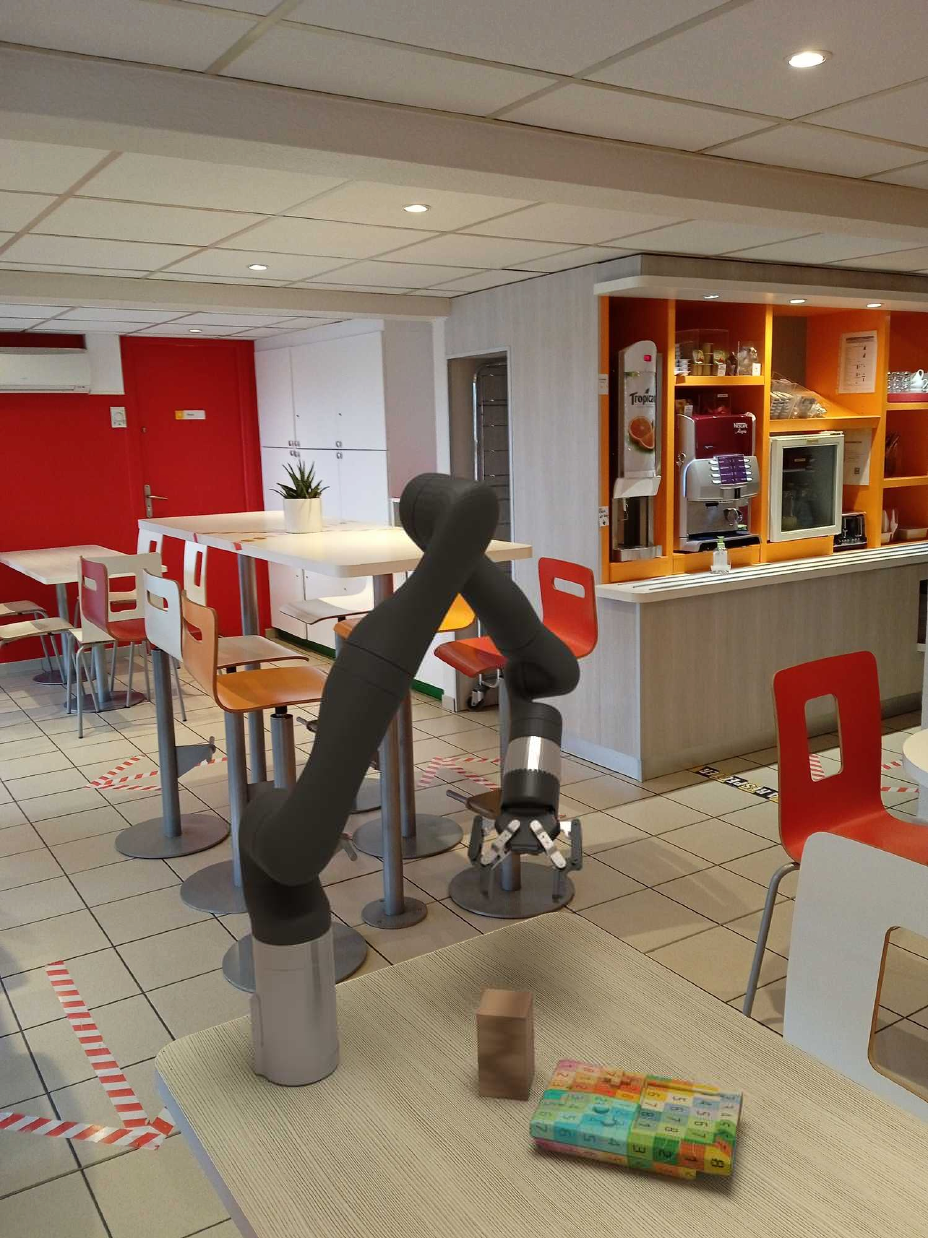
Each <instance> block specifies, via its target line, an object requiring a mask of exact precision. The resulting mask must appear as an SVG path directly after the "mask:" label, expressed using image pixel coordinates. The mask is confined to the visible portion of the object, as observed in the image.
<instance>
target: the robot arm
mask: <svg viewBox="0 0 928 1238" xmlns="http://www.w3.org/2000/svg"><path fill="white" fill-rule="evenodd" d="M500 506H501V505H500V501H499V497H498V494H497V492H496V490H495V489H494V488H493V487H491V486H490V485H489V484H487V483H485V482H483V481H480V480H476V479H472V478H468V477H467V478H466V477H462V476H458V475H452V474H447V473H441V472H423V473H420V474H418V475H416V476H415V477H413V478H412V479H411V480H410V481H409V482H407V484H406V485H405V487H404V488H403V490H402V492H401V495H400V498H399V503H398V515H399V516H398V517H399V521H400V523H401V524H400V525H401V527H402V529H403V531H404V532H405V534H406V535H407V537H408V538H409V539H410V540H411V541H412V542H413V543H414V545H416V546H417V548H419V550H420V551H421V552H422V553H423V554H422V556H421V557H420V560H419V562H418V563H417V565H416V566H415V568H414V570H413V571H412V573H411V574H410V575H409V577H408V578H407V579H406V580H405V581H404V582H403V583H402V584H401V585H400V586H399V587H398V588H397V589H396V590H395V591H394V592H393V593H391V594H390V595H389V596H387V597H386V598H385V599H383V600H382V601H381V602H380V603H379V604H377V605H376V606H375V607H374V608H372V610H370V611H368V613H366V615H364V616H363V617H362V618H361V619H360V620H359V621H358V622H357V623H356V624H355V626H354V627H353V628H352V629H351V630H350V632H349V633H348V635H347V637H346V638H345V640H344V643H343V644H342V646H341V648H340V650H339V652H338V654H337V655H336V658H335V660H334V662H333V664H332V666H331V668H330V670H329V672H328V675H327V676H326V679H325V682H324V685H323V689H322V691H321V692H322V694H321V699H320V703H319V707H318V708H319V709H318V716H317V721H316V722H317V723H316V729H315V734H314V740H313V744H312V747H311V750H310V753H309V756H308V759H307V760H306V763H305V765H304V767H303V769H302V772H301V773H300V775H299V777H298V778H297V780H296V782H295V785H294V786H293V787H292V789H289V788H284V787H275V788H274V787H273V788H270V789H266V790H264V791H262V792H259V794H257V795H255V796H254V797H253V798H252V799H251V800H250V801H249V802H248V804H247V805H245V808H244V810H243V812H242V815H241V817H240V820H239V825H238V830H237V831H238V833H237V834H238V835H237V836H238V837H237V839H238V840H237V841H238V855H239V868H240V875H241V885H242V893H243V898H244V905H245V907H246V910H247V913H248V916H249V919H250V927H251V928H250V929H251V937H252V938H251V940H252V941H251V942H252V952H253V966H254V968H253V969H254V979H255V991H254V993H253V994H252V995H251V996H250V998H249V1008H250V1009H249V1012H250V1022H251V1023H250V1024H251V1038H252V1052H253V1066H254V1074H255V1075H261V1076H264V1078H265V1079H267V1080H269V1081H271V1082H273V1083H274V1084H278V1085H283V1086H302V1085H308V1084H312V1083H315V1082H318V1081H320V1080H322V1079H324V1078H326V1077H328V1076H329V1075H330V1074H331V1073H333V1072H334V1070H336V1068H337V1067H338V1065H339V1062H340V1040H339V1027H338V1023H339V1022H338V1009H337V1008H338V1007H337V990H336V973H335V972H336V971H335V957H334V944H333V943H334V941H333V939H334V938H333V926H332V909H331V903H330V900H329V897H328V895H327V893H326V891H325V889H324V887H323V884H322V882H321V879H320V876H319V875H320V874H321V873H322V872H323V871H324V869H325V868H326V867H327V866H328V865H329V863H330V862H331V860H332V858H333V857H334V854H335V853H336V850H337V848H338V846H339V844H340V841H341V839H342V835H343V834H344V833H343V832H344V830H345V828H346V825H347V822H348V820H349V817H350V816H351V812H352V809H353V807H354V804H355V803H356V802H355V801H356V799H357V796H358V795H359V794H358V793H359V792H360V788H361V786H362V783H363V781H364V779H365V777H366V775H367V773H368V771H369V768H370V766H371V765H372V763H373V761H374V759H375V757H376V756H377V753H378V751H379V749H380V747H381V746H382V743H383V740H384V739H385V736H386V734H387V732H388V730H389V728H390V726H391V724H392V722H393V720H394V719H395V717H396V715H397V713H398V711H399V710H400V707H401V706H402V704H403V701H405V698H406V696H407V694H408V692H409V690H410V689H411V686H412V684H413V682H414V680H415V678H416V676H417V674H418V671H419V670H420V667H421V665H422V663H423V660H424V658H425V656H426V654H427V652H428V650H429V648H430V646H431V645H432V643H433V641H434V639H435V636H436V635H437V634H438V631H440V628H441V626H442V624H443V622H444V620H445V619H446V616H447V614H448V613H449V611H450V609H451V607H452V605H453V603H454V602H455V601H456V599H457V597H458V595H460V596H461V597H462V599H463V600H464V601H465V603H466V604H467V605H468V607H469V609H471V611H472V612H473V614H474V615H475V616H476V618H477V620H478V621H479V623H480V624H481V625H482V627H483V629H484V631H485V632H486V634H487V636H488V637H489V638H490V641H491V642H492V643H493V645H494V647H495V649H496V650H497V651H498V653H499V654H500V655H501V656H502V657H503V658H505V659H506V661H505V664H504V665H503V666H504V667H503V680H504V685H505V686H504V687H505V690H506V693H507V699H508V706H509V713H510V727H509V737H508V746H507V751H506V752H507V753H506V755H505V759H504V767H503V776H502V777H503V778H502V787H501V793H500V794H501V795H500V796H501V797H500V805H499V812H498V816H497V817H496V818H495V819H489V818H488V819H487V818H484V817H483V815H481V814H476V815H475V816H474V818H473V821H472V827H471V832H470V837H469V838H470V839H469V842H468V849H467V852H466V853H467V858H468V861H469V863H470V864H471V866H473V867H478V868H479V869H480V870H479V871H480V872H479V879H478V890H479V892H480V894H481V895H483V898H484V900H486V901H488V900H489V901H491V900H492V895H493V894H492V893H493V885H494V875H495V872H494V869H495V868H496V866H497V865H498V864H499V863H500V862H501V861H503V860H505V859H506V858H507V857H508V855H510V853H512V854H513V855H515V856H522V855H529V856H534V857H536V856H537V857H538V856H540V855H542V854H543V853H544V855H545V856H546V857H547V859H548V861H549V862H550V863H551V864H552V865H553V866H554V868H553V876H552V878H553V879H552V889H551V900H552V903H553V904H560V902H561V900H564V899H565V897H566V892H567V891H566V889H567V876H568V874H569V873H570V872H573V871H577V872H579V871H581V870H582V869H583V865H584V864H583V827H582V823H581V820H580V819H579V818H576V817H575V818H572V819H571V821H560V820H559V807H560V806H559V805H560V794H561V793H560V792H561V783H562V756H561V755H562V753H561V749H562V739H563V726H564V725H563V723H564V722H563V716H562V714H561V711H560V710H559V709H557V708H556V707H554V706H553V705H551V704H549V703H544V702H538V701H534V700H537V699H538V700H540V699H548V698H554V697H562V696H566V695H569V694H571V693H572V692H574V690H576V688H577V687H578V685H579V683H580V679H581V669H580V664H579V661H578V659H577V657H576V655H575V653H574V652H573V650H572V649H571V648H570V647H569V645H567V643H566V642H565V641H564V640H562V639H561V638H560V637H559V636H558V635H556V634H555V633H554V632H553V631H552V630H551V629H550V628H548V627H547V626H546V625H545V624H544V623H543V622H542V621H541V619H540V618H539V616H538V614H537V612H536V611H535V609H534V606H533V605H532V603H531V601H530V600H529V598H528V597H527V596H526V593H524V591H523V590H522V589H521V588H520V587H519V585H518V584H517V583H516V582H515V581H514V580H513V579H512V578H511V577H510V576H509V575H508V574H507V573H506V572H505V571H504V570H502V569H501V568H500V567H499V566H498V565H497V564H496V563H495V562H494V561H493V560H492V559H491V558H490V557H489V556H488V555H487V554H486V551H487V550H488V547H489V545H490V544H491V542H492V540H493V539H494V535H495V533H496V530H497V528H498V525H499V520H500V509H501V507H500ZM493 830H495V831H496V833H497V835H498V837H497V838H495V840H494V841H492V844H491V846H490V848H489V849H487V851H485V853H484V854H482V853H483V852H482V851H483V847H484V843H485V842H484V841H485V838H486V837H488V836H489V835H490V833H491V832H492V831H493ZM561 832H562V833H564V834H565V838H566V840H569V841H570V857H566V858H564V857H563V855H562V854H561V853H560V851H559V850H558V848H557V846H556V845H555V842H554V841H555V840H556V839H557V838H558V837H559V835H560V834H561Z"/></svg>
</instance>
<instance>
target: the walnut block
mask: <svg viewBox="0 0 928 1238" xmlns="http://www.w3.org/2000/svg"><path fill="white" fill-rule="evenodd" d="M475 1017H476V1040H477V1041H476V1043H477V1044H476V1045H477V1070H478V1071H477V1072H478V1073H477V1075H478V1076H477V1077H478V1097H479V1098H480V1097H481V1098H488V1097H489V1098H491V1099H498V1100H499V1099H500V1100H508V1101H509V1100H510V1101H519V1102H528V1101H529V1099H530V1095H531V1091H532V1085H533V1082H534V1079H535V1078H534V1077H535V1075H536V1063H535V1061H536V1059H535V1055H536V1054H535V1022H534V1020H535V1019H534V992H533V991H532V992H531V991H520V990H507V989H496V988H495V989H494V988H485V990H484V993H483V995H482V998H481V1001H480V1004H479V1005H478V1008H477V1011H476V1015H475ZM489 1098H488V1099H489Z"/></svg>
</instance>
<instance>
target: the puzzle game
mask: <svg viewBox="0 0 928 1238" xmlns="http://www.w3.org/2000/svg"><path fill="white" fill-rule="evenodd" d="M743 1102H744V1092H742V1091H738V1090H733V1089H727V1088H722V1087H717V1086H710V1085H706V1084H702V1083H695V1082H690V1081H684V1080H679V1079H674V1078H668V1077H663V1076H659V1075H653V1074H648V1073H643V1072H642V1073H641V1072H636V1071H633V1070H626V1069H621V1068H617V1067H616V1068H615V1067H610V1066H604V1065H599V1064H593V1063H588V1062H582V1061H578V1060H572V1059H568V1058H566V1059H565V1058H564V1059H559V1060H558V1063H557V1064H556V1067H555V1069H554V1072H553V1073H552V1076H551V1077H550V1079H549V1081H548V1084H547V1086H546V1088H545V1090H544V1093H543V1095H542V1097H541V1098H540V1101H539V1103H538V1105H537V1107H536V1109H535V1111H534V1114H533V1116H532V1118H531V1120H530V1122H529V1136H530V1137H531V1138H532V1139H533V1140H534V1141H535V1142H536V1143H537V1145H539V1146H541V1148H542V1149H544V1150H546V1151H551V1152H554V1153H555V1152H556V1153H561V1154H565V1155H569V1156H575V1157H579V1158H585V1159H589V1160H595V1161H599V1162H604V1163H609V1164H614V1165H618V1166H623V1167H628V1168H632V1169H637V1170H643V1171H647V1172H653V1173H656V1174H661V1175H667V1176H671V1177H675V1178H681V1179H684V1180H685V1179H686V1180H689V1181H690V1180H691V1181H692V1180H693V1179H695V1178H696V1177H697V1172H702V1173H707V1174H713V1175H717V1176H722V1177H725V1176H729V1175H732V1171H733V1165H734V1159H735V1153H736V1147H737V1141H738V1134H739V1127H740V1122H741V1115H742V1109H743Z"/></svg>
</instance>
